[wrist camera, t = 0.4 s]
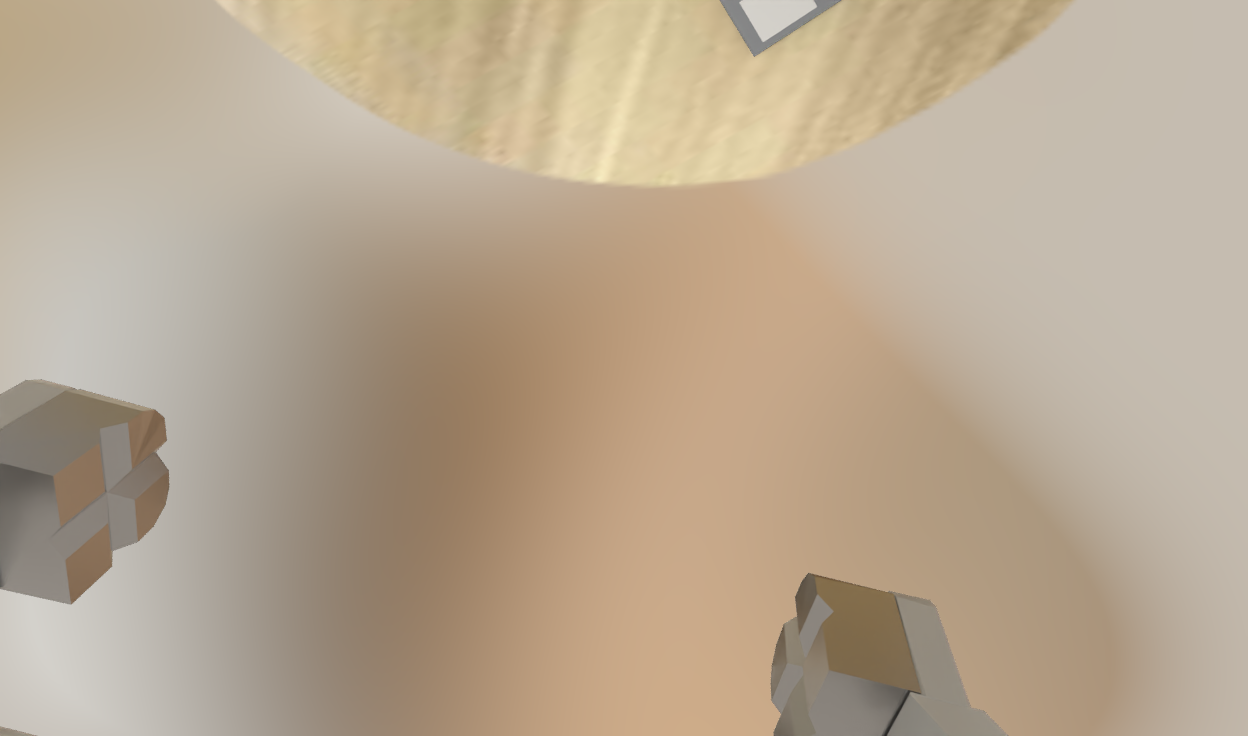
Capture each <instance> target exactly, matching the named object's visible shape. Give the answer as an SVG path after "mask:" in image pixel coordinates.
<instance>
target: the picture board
mask: <svg viewBox="0 0 1248 736" xmlns="http://www.w3.org/2000/svg"><path fill="white" fill-rule="evenodd" d="M720 1H721V3H722V5H723V6H724V8H725V10H726V11H727V13H728V15H729V16H730V18H731V20H732V21H733V23H734V25H735V26H736V28H737V30H738V31H739V33H740V34H741V36H742V38H743V39H744V41H745V43H746V44H747V46H748V48H749V49H750V51H751V53H752V54H753V56H754V57H755V56H756V55H758V54H759V53H761V52H762V51H764V50H765V49H767V48H768V47H770V46H772V45H773V44H775V43H776V42H778V41H779V40H781V39H782V38H784V37H785V36H787V35H788V34H790V33H792V32H793V31H795V30H796V29H798V28H799V27H801V26H802V25H804V24H805V23H807V22H809V21H810V20H812V19H813V18H815V17H816V16H818V15H819V14H821V13H822V12H824V11H825V10H827V9H829V8H830V7H832V6H833V5H835V4H836V3H838V2H839V1H841V0H720Z"/></svg>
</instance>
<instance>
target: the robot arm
mask: <svg viewBox="0 0 1248 736" xmlns="http://www.w3.org/2000/svg"><path fill="white" fill-rule="evenodd" d="M166 441H167V437H166V428H165V418H164V417H163V416H162V415H161V414H159V413H158V412H157V411H156V410H154V409H151V408H147V407H143V406H140V405H136V404H132V403H129V402H125V401H121V400H118V399H114V398H110V397H106V396H103V395H99V394H95V393H92V392H88V391H85V390H81V389H79V390H77V389H75V388H72V387H68V386H65V385H61V384H56V383H53V382H49V381H45V380H25V381H24V382H22V383H20V384H18V385H16V386H15V387H13V388H11V389H9V390H8V391H6V392H4V393H2V394H0V589H3V590H7V591H12V592H16V593H21V594H26V595H30V596H35V597H39V598H44V599H48V600H53V601H57V602H62V603H67V604H72V603H73V602H74V601H76V600H77V599H78V598H79V597H80V596H81V595H82V594H83V593H84V592H85V591H86V590H87V589H88V588H89V587H91V586H92V585H93V584H94V583H95V582H96V581H97V580H98V579H99V578H100V577H101V576H102V575H103V574H104V573H106V572H107V571H108V570H109V569H110V568H111V567H112V552H113V551H114V550H117V549H119V548H122V547H125V546H128V545H131V544H134V543H137V542H138V541H139V540H140V539H141V538H142V537H143V536H144V535H145V534H146V533H147V532H148V531H149V530H150V529H151V528H152V527H154V525H155V523H156V521H157V519H158V517H159V516H160V514H161V512H162V510H163V508H164V507H165V505H166V500H167V495H168V490H169V470H168V469H167V467H166V466H165V464H164V463H163V462H162V460H161V459H160V457H159V456H158V455H157V453H156V451H157V450H158V449H159V448H160V447H161V446H162V445H163V444H164V443H165V442H166ZM795 601H796V610H797V617H795V618H793V619H792V620H790V621H788V622H786V623H785V624H784V625H783V628H782V631H781V634H780V636H779V639H778V642H777V644H776V649H775V654H774V658H773V663H772V672H771V700H772V702H773V704H774V705H775V706H776V708H777V709H778V710H779V712H780V713H781V716H780V718H779V721H778V723H777V725H776V728H775V730H774V736H1008V735H1007V734H1006V733H1005V732H1004V731H1003V730H1002V729H1001V728H1000V727H999V726H998V725H997V724H996V723H995V722H994V721H993V720H992V719H991V718H990V717H989V716H988V715H987V714H986V712H985V711H983V710H979V709H975V708H971V706H970V703H969V700H968V697H967V695H966V692H965V689H964V686H963V683H962V680H961V677H960V674H959V672H958V669H957V666H956V663H955V660H954V657H953V654H952V652H951V649H950V646H949V643H948V640H947V637H946V634H945V631H944V628H943V626H942V623H941V620H940V617H939V614H938V611H937V608H936V606H935V605H934V604H933V603H932V602H931V601H930V600H927V599H923V598H918V597H913V596H908V595H905V594H900V593H895V592H890V591H889V592H885V591H880V590H876V589H872V588H868V587H864V586H860V585H856V584H852V583H848V582H844V581H840V580H835V579H832V578H827V577H823V576H819V575H815V574H811V573H808V574H807V575H806V577H805V578H804V579H803V581H802V582H801V585H800V587H799V589H798V592H797V594H796V596H795ZM0 736H36V735H32V734H28V733H24V732H20V731H16V730H12V729H8V728H4V727H0Z"/></svg>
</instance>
